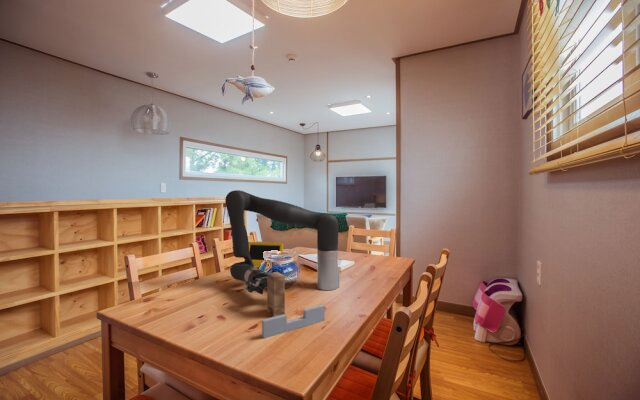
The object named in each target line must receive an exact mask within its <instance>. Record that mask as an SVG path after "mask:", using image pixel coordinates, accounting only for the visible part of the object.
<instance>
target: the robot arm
mask: <svg viewBox="0 0 640 400" xmlns="http://www.w3.org/2000/svg"><path fill="white" fill-rule="evenodd" d="M224 199H225V201H224V202H225V206H226V210H227V215H228V218H229V224H230V231H231V240H232V241H231V242H232V253H233V256H234V258H243V259H244V261H240V262H234V263H232V265H231V267H230V269H229V270H230V275H231V277H232V278H233V279H234V280H235V281H236V280H237V281H240V282H241V281H242V282H245V290H246V291H248V292H249V293H253V292H255V293H257V294H260V295H264V290H265V289H267V273H268V272H263V271H262V270H260V269H258V268H256V266H254V264H253V262H252V259H251V256H250V252H249V242H250V241H249V236H248V231H247V228H246V224H245V212H252V213H254V214H255V213H256V214H259V215H261V216H263V217H266V218H267V219H269V220H273V221H275V222H279V223H282V224H287V225H293V226H304V227H309V228H312V229H314V230H316V231H317V234H316V235H317V236H316V237H317V239H316V243H317V249H316V250H317V262H316V263H317V266H316V267H317V271H316V273H317V275H316V276H317V277H316V279H317V280H316V281H317V282H316V283H317V289H319V290H321V291H322V290H323V291H333V290H336V289H338V288H340V266H339V263H338V262H339V260H338V259H339V256H338V254H339V253H338V252H339V250H338V249H339V247H338V246H339V222H338V219H337V217H336V216H334V215H333V214H330V213H326V212H325V213H324V212H318V211H313V210H309V209H307V208H306V209H305V208H303V207H301V206H299V205H295V204H292V203H288V202H284V201H281V200H276V199H270V198H263V197H261V196H260V197H259V196H256V195H253V194H251V193H249V192H247V191H243V190H237V189H236V190H232V191H230V192H228V193H227V194H226V196H225V198H224Z"/></svg>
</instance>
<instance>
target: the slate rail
mask: <svg viewBox="0 0 640 400" xmlns="http://www.w3.org/2000/svg"><path fill="white" fill-rule="evenodd" d="M325 311H326V310H325V305H323V304H319V305H315V306H310V307H307V308H304V309H302V316H300V317H298V318H297V317H296V318H294V319H291V320H287V315H286V314H285V315H284V314H283V315H279V316H275V317H273V316H272V317H268V318H265V319H264V318H263V319H261V336H262V338H263V339H267V338H270V337H273V336H277V335H280V334H284V333H287V332H290V331H294V330H297V329H300V328H304V327H308V326H310V325H314V324H317V323H321V322H324V321H325V317H326V316H325V314H326V313H325Z"/></svg>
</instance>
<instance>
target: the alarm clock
mask: <svg viewBox="0 0 640 400" xmlns="http://www.w3.org/2000/svg"><path fill="white" fill-rule="evenodd" d="M248 242H249V252H250V256H251V259H252V262H253V264H254V267H255V268H258V269H259V267H260V266H261V263H262V262H263V261H264V258H263V252H264V251H271V250H278V251H281V252H284V243H282V242H274V241H248Z"/></svg>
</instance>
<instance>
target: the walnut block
mask: <svg viewBox="0 0 640 400" xmlns="http://www.w3.org/2000/svg"><path fill="white" fill-rule="evenodd" d="M266 273H267V288H266V292H267V293H266V305H267V306H266V307H267V308H266V311H267V313H272V317H275V316H279V315H283V314H284V315H286V312H285V311H286V308H285V307H286V302H285V301H286V299H285V295H286V292H285V291H286V283H285V281H286V280H285V279H286V277H285V274H282V273H280V272H278V271H276V272H273V273H268V272H266Z"/></svg>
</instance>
